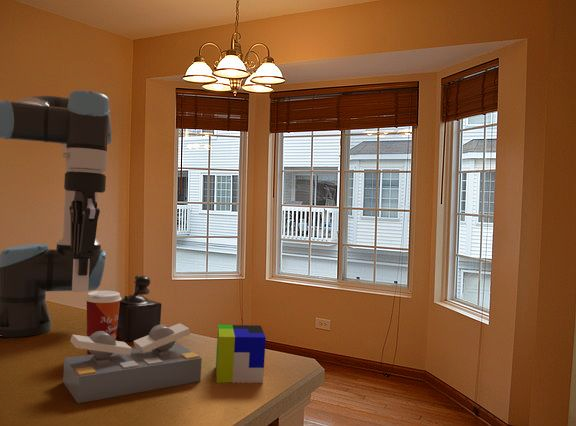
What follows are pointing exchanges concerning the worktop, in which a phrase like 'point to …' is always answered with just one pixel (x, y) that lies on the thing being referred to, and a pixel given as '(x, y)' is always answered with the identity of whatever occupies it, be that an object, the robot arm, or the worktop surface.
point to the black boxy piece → (137, 313)
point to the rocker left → (100, 344)
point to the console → (130, 372)
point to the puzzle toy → (240, 354)
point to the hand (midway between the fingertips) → (80, 291)
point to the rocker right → (161, 337)
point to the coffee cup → (102, 312)
